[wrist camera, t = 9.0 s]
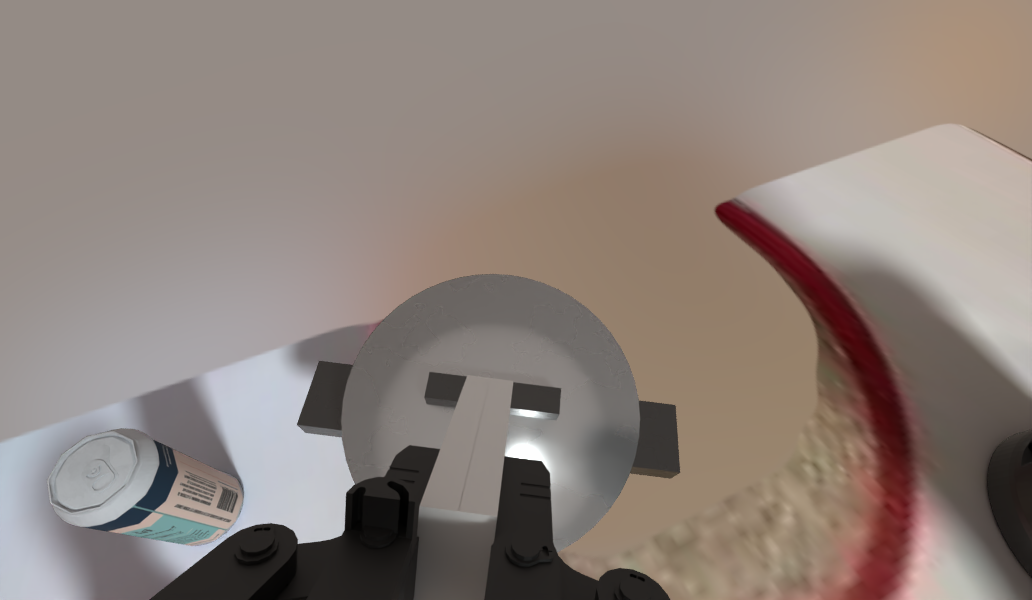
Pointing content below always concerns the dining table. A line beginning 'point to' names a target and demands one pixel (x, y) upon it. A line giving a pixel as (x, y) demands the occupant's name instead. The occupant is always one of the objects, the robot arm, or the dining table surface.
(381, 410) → the pot lid
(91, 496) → the beer can
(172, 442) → the dining table surface
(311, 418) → the cooking pot
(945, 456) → the dining table surface
